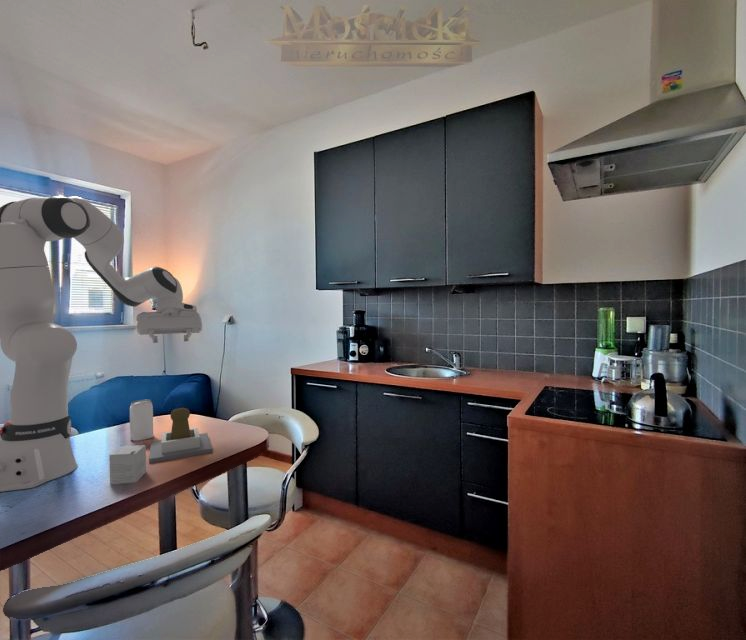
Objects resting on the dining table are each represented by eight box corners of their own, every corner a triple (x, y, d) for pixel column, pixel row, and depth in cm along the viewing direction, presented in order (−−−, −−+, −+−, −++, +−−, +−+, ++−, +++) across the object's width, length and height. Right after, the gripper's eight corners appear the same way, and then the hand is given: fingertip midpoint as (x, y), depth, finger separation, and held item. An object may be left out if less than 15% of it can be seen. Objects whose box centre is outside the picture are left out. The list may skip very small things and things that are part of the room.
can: (128, 437, 125) (127, 401, 124) (150, 433, 129) (150, 398, 129) (132, 442, 120) (131, 405, 120) (155, 438, 124) (154, 401, 124)
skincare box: (121, 474, 97) (120, 445, 97) (147, 472, 99) (146, 444, 98) (109, 485, 91) (108, 454, 91) (137, 482, 93) (136, 453, 92)
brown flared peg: (195, 441, 117) (195, 406, 117) (184, 448, 111) (183, 411, 111) (177, 441, 118) (176, 406, 118) (165, 448, 112) (164, 411, 112)
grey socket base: (148, 463, 104) (148, 448, 104) (151, 444, 118) (151, 431, 118) (211, 452, 112) (211, 438, 111) (207, 436, 126) (207, 423, 125)
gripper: (136, 306, 131) (134, 336, 123) (200, 305, 141) (203, 333, 133) (137, 318, 135) (136, 348, 127) (200, 317, 145) (202, 345, 137)
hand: (171, 341), depth 130 cm, fingers open, 8 cm apart
